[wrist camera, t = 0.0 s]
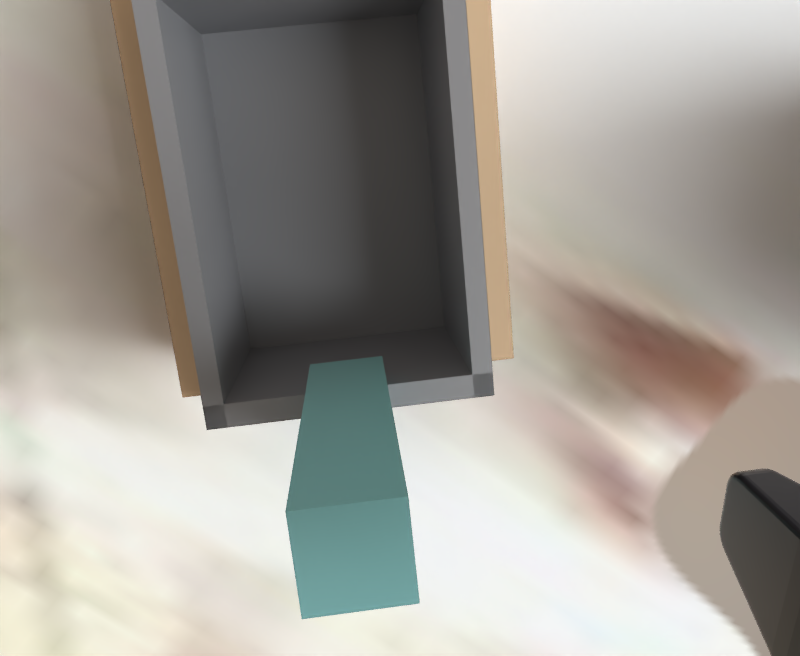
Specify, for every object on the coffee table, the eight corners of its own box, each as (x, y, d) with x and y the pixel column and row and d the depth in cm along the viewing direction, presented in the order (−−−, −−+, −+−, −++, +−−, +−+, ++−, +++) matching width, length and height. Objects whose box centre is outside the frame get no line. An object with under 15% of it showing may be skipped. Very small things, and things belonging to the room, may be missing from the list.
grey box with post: (460, 357, 23) (588, 580, 11) (242, 382, 23) (124, 642, 11) (430, -3, 21) (555, -233, 8) (184, 20, 20) (-59, -185, 8)
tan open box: (485, 324, 24) (513, 358, 20) (209, 356, 23) (182, 397, 19) (458, -41, 21) (484, -85, 17) (146, -13, 20) (100, -52, 17)
